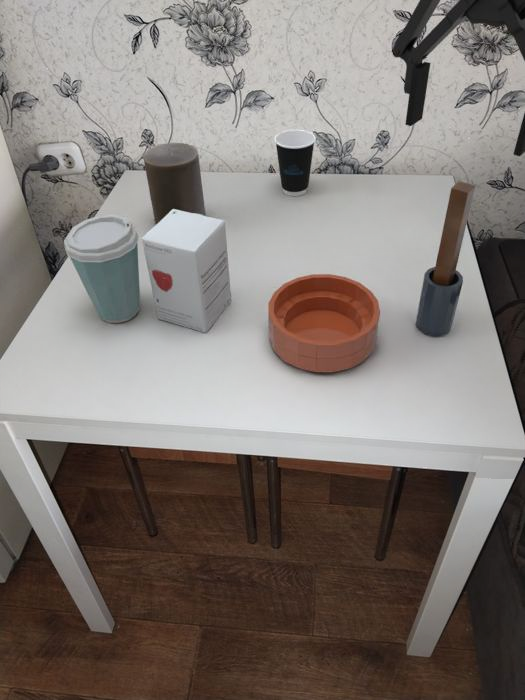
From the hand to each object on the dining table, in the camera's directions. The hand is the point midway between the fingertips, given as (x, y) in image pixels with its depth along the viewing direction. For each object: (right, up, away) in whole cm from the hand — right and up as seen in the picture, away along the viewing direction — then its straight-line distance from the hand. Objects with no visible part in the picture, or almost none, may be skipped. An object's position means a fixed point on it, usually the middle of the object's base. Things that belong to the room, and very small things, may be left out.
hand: (464, 136), depth 69 cm
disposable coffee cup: (-47, -19, +25) cm, 56 cm away
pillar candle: (-39, -1, +44) cm, 59 cm away
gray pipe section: (+2, -21, +20) cm, 29 cm away
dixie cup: (-17, +7, +51) cm, 54 cm away
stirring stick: (+2, -21, +19) cm, 28 cm away
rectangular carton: (-34, -19, +25) cm, 46 cm away
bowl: (-15, -23, +19) cm, 33 cm away
